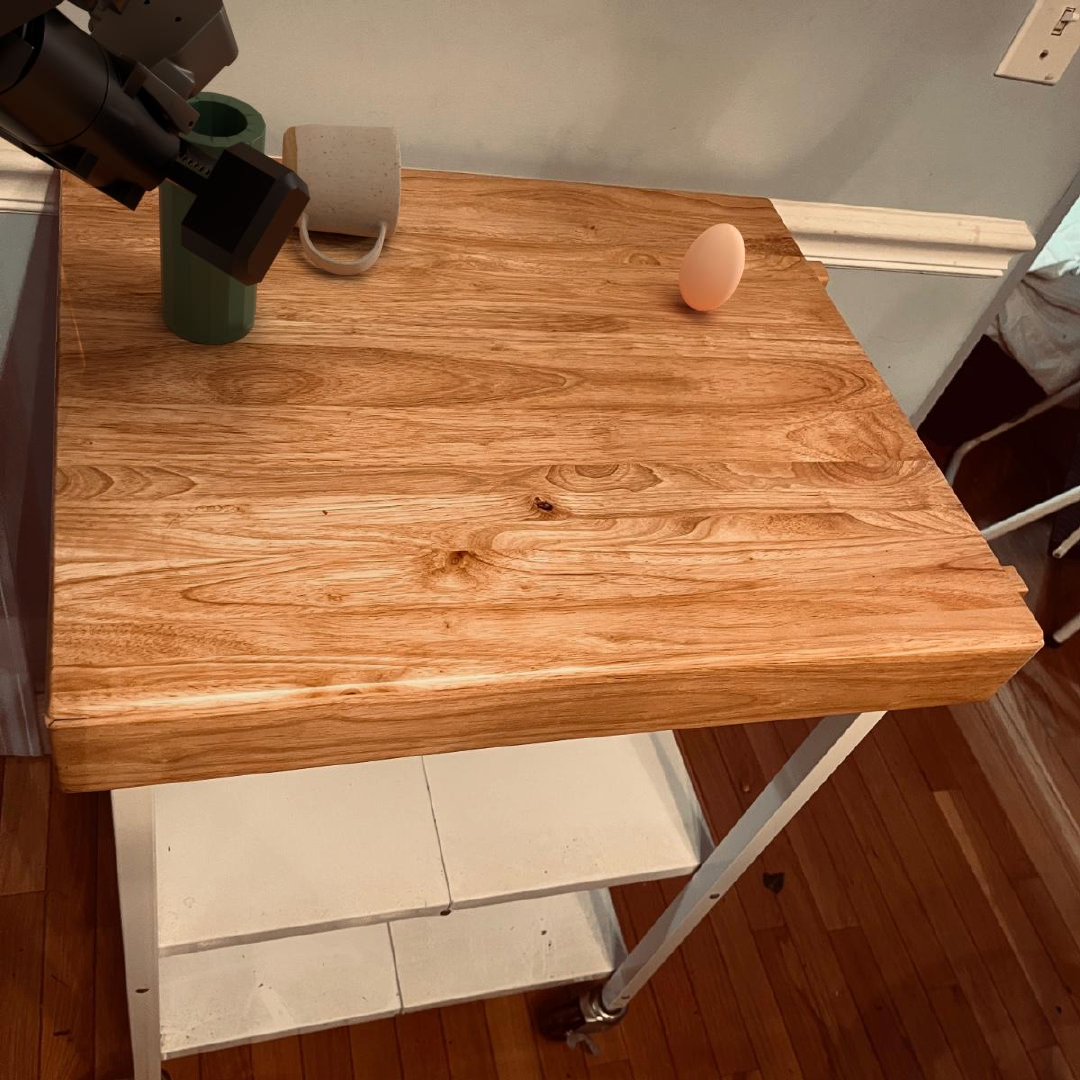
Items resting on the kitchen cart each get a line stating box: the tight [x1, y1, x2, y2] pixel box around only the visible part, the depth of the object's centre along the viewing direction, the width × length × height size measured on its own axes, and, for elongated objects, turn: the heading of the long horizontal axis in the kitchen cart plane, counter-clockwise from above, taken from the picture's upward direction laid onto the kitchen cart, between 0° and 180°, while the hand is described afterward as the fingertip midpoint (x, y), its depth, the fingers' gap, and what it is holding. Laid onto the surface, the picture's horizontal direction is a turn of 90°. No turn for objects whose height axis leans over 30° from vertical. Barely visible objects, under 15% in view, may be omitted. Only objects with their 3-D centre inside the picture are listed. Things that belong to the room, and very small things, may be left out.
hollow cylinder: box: [157, 91, 267, 345], centre depth 65 cm, size 6×6×14 cm
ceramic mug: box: [281, 123, 402, 276], centre depth 77 cm, size 11×8×8 cm
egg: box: [678, 223, 746, 312], centre depth 82 cm, size 5×5×7 cm
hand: (214, 209), depth 65 cm, fingers open, 9 cm apart
